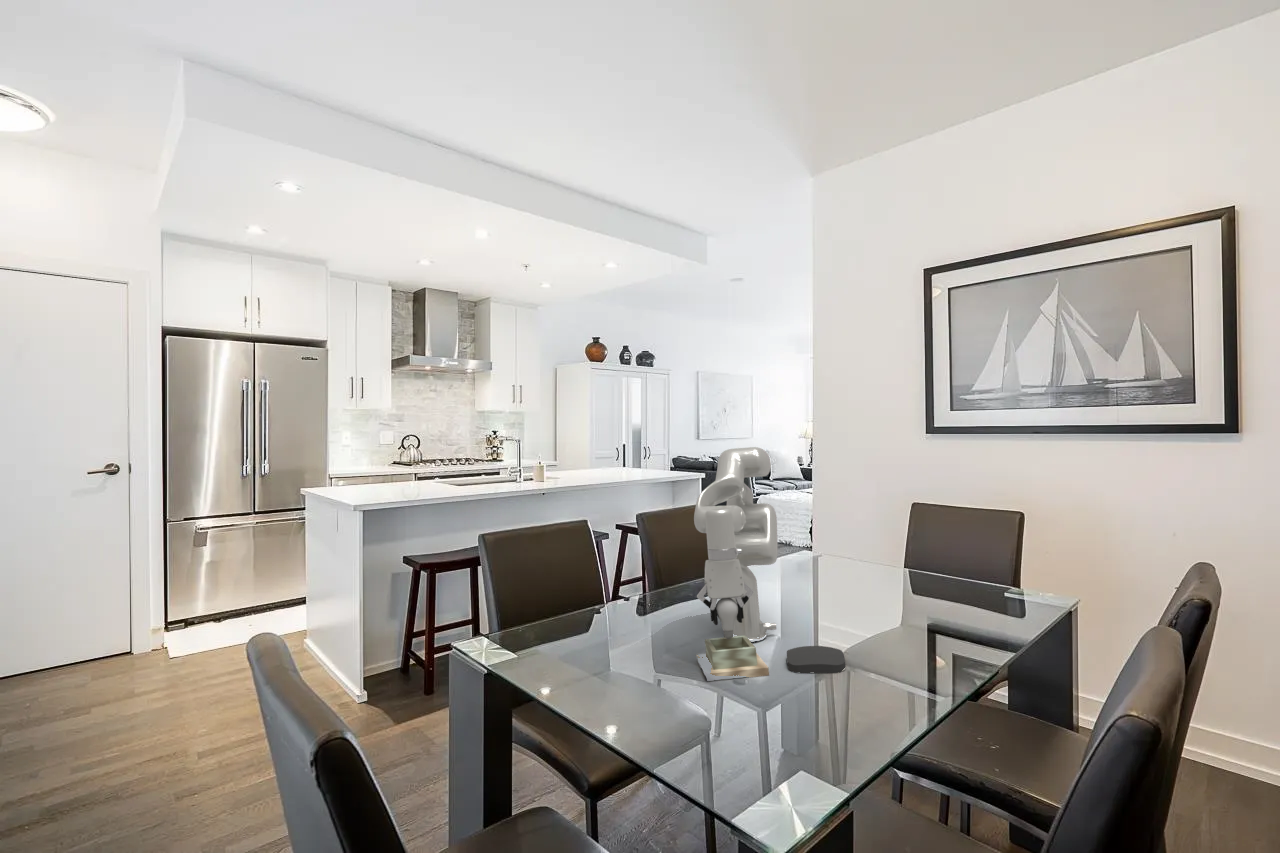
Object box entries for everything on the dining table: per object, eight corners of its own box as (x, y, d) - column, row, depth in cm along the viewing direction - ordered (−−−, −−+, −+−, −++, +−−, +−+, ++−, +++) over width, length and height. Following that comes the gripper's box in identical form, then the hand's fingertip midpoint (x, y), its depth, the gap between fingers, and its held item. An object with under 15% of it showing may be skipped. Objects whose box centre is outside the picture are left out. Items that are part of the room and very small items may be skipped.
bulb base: (753, 655, 174) (751, 632, 174) (769, 675, 158) (766, 649, 158) (697, 661, 173) (695, 637, 173) (707, 681, 157) (705, 655, 157)
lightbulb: (722, 643, 162) (719, 601, 162) (713, 637, 168) (711, 596, 168) (744, 640, 163) (741, 598, 164) (734, 634, 169) (731, 594, 170)
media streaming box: (848, 674, 155) (846, 662, 156) (788, 675, 158) (787, 663, 158) (841, 655, 170) (840, 644, 170) (786, 656, 173) (785, 645, 173)
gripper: (750, 550, 171) (755, 616, 170) (688, 555, 170) (693, 622, 169) (757, 554, 164) (762, 623, 163) (692, 559, 162) (698, 629, 161)
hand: (727, 622), depth 166 cm, fingers closed on lightbulb, 5 cm apart
